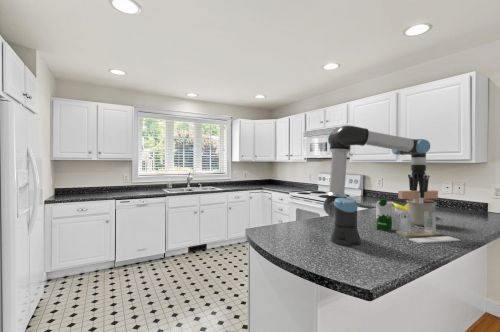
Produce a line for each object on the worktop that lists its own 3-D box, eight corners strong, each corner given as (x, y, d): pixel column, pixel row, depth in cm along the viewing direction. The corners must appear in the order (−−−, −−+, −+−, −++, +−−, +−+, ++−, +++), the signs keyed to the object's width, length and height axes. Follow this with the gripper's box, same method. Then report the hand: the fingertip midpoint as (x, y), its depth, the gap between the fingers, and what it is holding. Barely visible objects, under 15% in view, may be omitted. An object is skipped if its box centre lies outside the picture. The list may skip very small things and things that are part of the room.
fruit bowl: (437, 217, 209) (437, 203, 209) (422, 221, 194) (422, 206, 194) (401, 212, 232) (401, 199, 232) (385, 215, 217) (386, 201, 217)
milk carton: (374, 229, 166) (375, 199, 166) (379, 227, 173) (379, 197, 173) (389, 232, 160) (389, 200, 160) (393, 229, 167) (393, 199, 167)
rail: (402, 199, 150) (402, 191, 150) (398, 198, 153) (398, 190, 153) (437, 198, 156) (438, 190, 156) (433, 197, 159) (433, 190, 159)
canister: (409, 226, 176) (409, 196, 176) (403, 220, 193) (403, 193, 193) (440, 228, 170) (440, 197, 170) (431, 222, 187) (431, 194, 187)
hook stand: (406, 236, 149) (406, 214, 149) (395, 233, 157) (395, 212, 157) (439, 235, 154) (440, 213, 154) (428, 231, 161) (428, 211, 161)
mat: (419, 243, 136) (419, 242, 136) (408, 239, 143) (408, 238, 143) (460, 241, 141) (460, 239, 141) (448, 237, 148) (448, 236, 148)
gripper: (435, 164, 148) (435, 204, 148) (412, 164, 163) (412, 200, 163) (425, 164, 146) (424, 204, 146) (402, 164, 162) (402, 201, 162)
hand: (418, 202), depth 155 cm, fingers closed on rail, 3 cm apart
